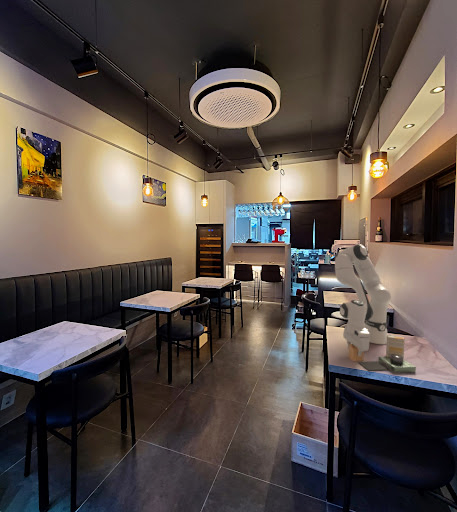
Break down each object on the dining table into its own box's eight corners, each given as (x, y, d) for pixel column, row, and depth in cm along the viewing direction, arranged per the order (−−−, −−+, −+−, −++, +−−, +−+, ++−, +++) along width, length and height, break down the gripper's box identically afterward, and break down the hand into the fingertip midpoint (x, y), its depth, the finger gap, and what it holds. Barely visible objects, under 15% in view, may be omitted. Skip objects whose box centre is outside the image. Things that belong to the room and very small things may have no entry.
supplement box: (401, 358, 147) (403, 336, 146) (403, 361, 143) (405, 339, 142) (385, 355, 150) (386, 333, 150) (386, 358, 146) (388, 336, 145)
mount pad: (358, 362, 140) (358, 361, 140) (376, 362, 141) (376, 361, 141) (368, 371, 131) (368, 369, 131) (388, 370, 132) (388, 369, 132)
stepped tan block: (348, 357, 146) (349, 344, 146) (358, 357, 147) (359, 344, 146) (353, 360, 142) (353, 347, 141) (363, 360, 142) (363, 347, 142)
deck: (377, 361, 141) (378, 351, 141) (397, 361, 142) (398, 351, 142) (393, 372, 129) (394, 361, 129) (415, 372, 130) (416, 361, 130)
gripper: (341, 322, 154) (339, 344, 155) (361, 335, 134) (359, 360, 134) (351, 322, 154) (349, 344, 155) (372, 335, 134) (370, 360, 135)
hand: (354, 351), depth 145 cm, fingers open, 8 cm apart
